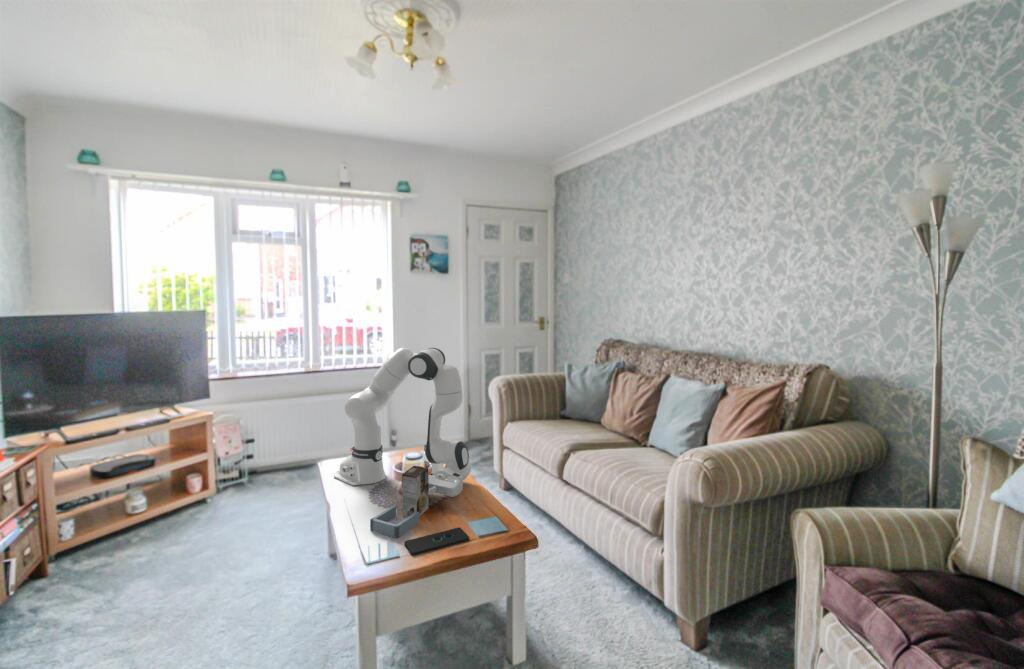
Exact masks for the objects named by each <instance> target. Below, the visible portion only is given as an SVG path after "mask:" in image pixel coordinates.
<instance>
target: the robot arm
mask: <svg viewBox="0 0 1024 669" xmlns="http://www.w3.org/2000/svg"><path fill="white" fill-rule="evenodd" d="M445 363H446V356H445V353H444V352H443V351H442V350H441V349H440V348H437V347H428V348H424V349H422V350H419V351H418V352H415V351H413V350H412V349H411V348H408V347H404V346H403V347H400V348H398V349H396V350H395V351H394V352H393V353H392V354H391V355H390V356H389V357H388V358H387V359H386V360H385V361H384V363H383V364H382V365H381V366H380V367H379V369H378V370H377V371H376V372H375V373H374V375H373V376H372V380H371V382H370V384H369V385H368V386H367V387H366V388H365V389H363V390H362V391H359V392H357V393H355V394H353V395H352V396H350V397H349V399H347V400H346V402H345V404H344V411H345V414H346V416H347V417H348V418H349V419H350V420H351V423H352V426H353V429H354V446H353V447H350V448H349V452H351V451H352V452H351V454H350V455H349V456H347V457H346V458H345V459H343V461H342V462H341V463H340V466H339V470H338V471H337V472H335V473H334V474H333V478H334V479H336V480H339V481H341V482H344V483H346V484H349V485H350V486H360V485H371V484H376V483H379V482H381V481H383V480H384V479H385V478H386V473H385V469H384V468H385V467H384V462H383V453H384V452H383V445H382V427H381V426H380V425H379V424H378V420H377V413H378V412H380V411H382V410H383V409H384V408H386V406H387V405H388V404H389V401H390V400H391V398H392V396H393V394H394V393H395V392H396V391H397V389H398V388H399V387H400V386H401V384H403V382H404V381H405V380H406V379H407V378H408V376H409V375H410V374H411V375H412V376H413V377H415V378H417V379H422V380H425V381H433V384H434V393H435V398H434V402H432V404H431V405H430V408H429V411H428V422H427V438H426V444H425V445H426V448H425V455H426V458H427V459H428V461H429V462H430V463H433V464H435V463H443V465H444V464H445V466H443V468H442V469H440V470H439V471H437V472H436V473H435V474H433V475H428V484H429V486H428V488H429V490H428V491H429V492H428V494H429V495H431V494H439V495H443V496H447V497H456V496H458V495H459V494H460V493H462V492H463V488H464V481H465V480H466V479H467V478H468V477H469V475H470V473H471V472H472V471H471V470H472V464H471V462H470V459H469V458H470V454H469V450H468V447H467V445H466V444H465V443H464V442H463V441H461V440H460V441H459V440H448V439H447V440H446V439H444V440H443V438H441V430H442V429H441V426H442V420H443V417H444V416H446V415H450V414H452V413H453V412H455V411H458V409H459V408H460V407H461V405H462V403H463V387H462V386H463V385H462V380H461V375H460V371H459V370H458V368H457V367H456V366H455V365H453V364H452V365H451V364H445Z"/></svg>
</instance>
